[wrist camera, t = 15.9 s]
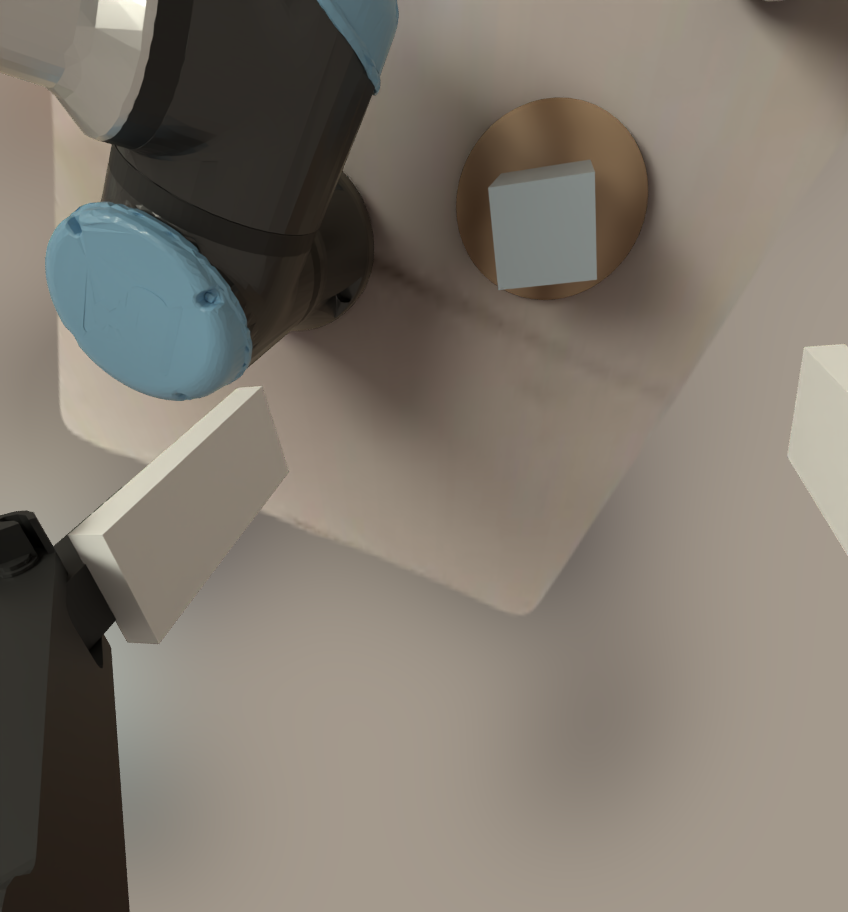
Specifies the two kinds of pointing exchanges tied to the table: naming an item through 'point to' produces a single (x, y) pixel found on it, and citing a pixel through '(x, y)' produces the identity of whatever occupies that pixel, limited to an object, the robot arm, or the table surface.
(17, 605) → the robot arm
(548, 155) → the peg stand
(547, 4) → the table surface
